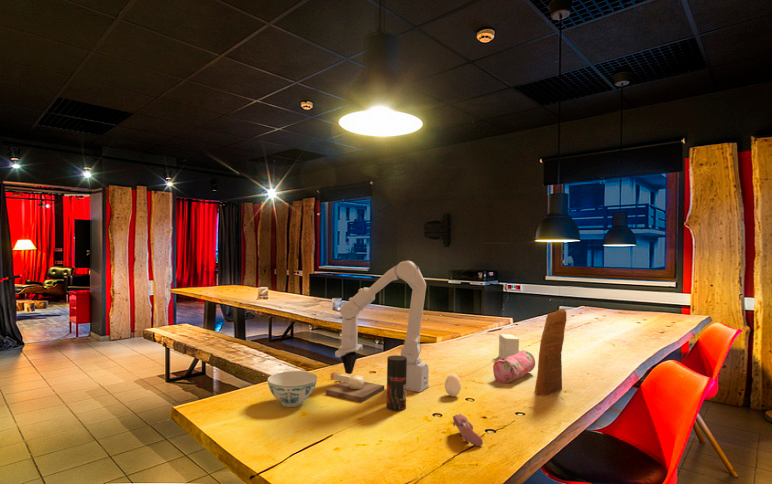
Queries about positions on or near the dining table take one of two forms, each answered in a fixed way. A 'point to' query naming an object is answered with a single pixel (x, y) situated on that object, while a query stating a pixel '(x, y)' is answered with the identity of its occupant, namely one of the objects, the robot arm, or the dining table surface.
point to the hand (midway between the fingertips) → (348, 373)
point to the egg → (452, 385)
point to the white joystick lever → (349, 380)
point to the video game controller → (466, 430)
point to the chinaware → (292, 387)
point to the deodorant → (396, 382)
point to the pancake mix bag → (551, 354)
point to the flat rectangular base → (355, 391)
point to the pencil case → (513, 366)
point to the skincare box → (508, 345)
